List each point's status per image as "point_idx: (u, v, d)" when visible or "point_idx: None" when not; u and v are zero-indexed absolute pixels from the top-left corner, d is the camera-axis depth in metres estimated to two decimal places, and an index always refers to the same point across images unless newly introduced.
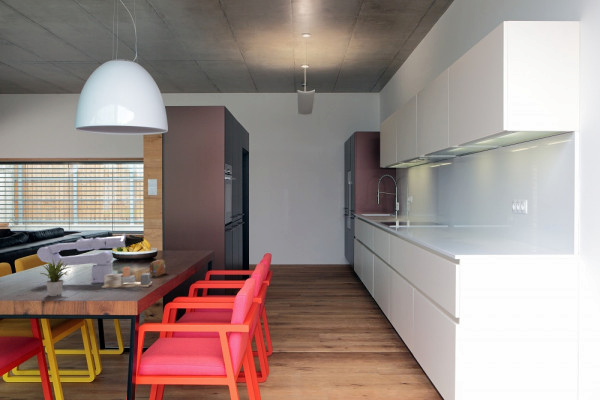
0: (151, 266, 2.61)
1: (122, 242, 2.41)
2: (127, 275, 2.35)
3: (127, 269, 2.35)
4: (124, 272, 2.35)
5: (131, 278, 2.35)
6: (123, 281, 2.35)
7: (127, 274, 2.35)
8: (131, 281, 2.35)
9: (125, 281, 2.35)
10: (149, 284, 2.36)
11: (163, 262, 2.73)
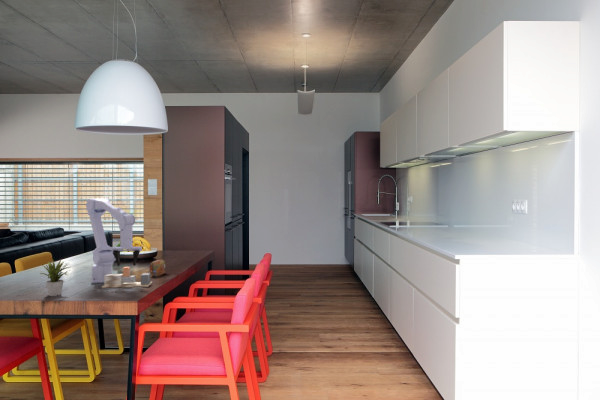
0: (151, 266, 2.61)
1: None
2: (127, 275, 2.35)
3: (127, 269, 2.35)
4: (124, 272, 2.35)
5: (131, 278, 2.35)
6: (123, 281, 2.35)
7: (127, 274, 2.35)
8: (131, 281, 2.35)
9: (125, 281, 2.35)
10: (149, 284, 2.36)
11: (163, 262, 2.73)
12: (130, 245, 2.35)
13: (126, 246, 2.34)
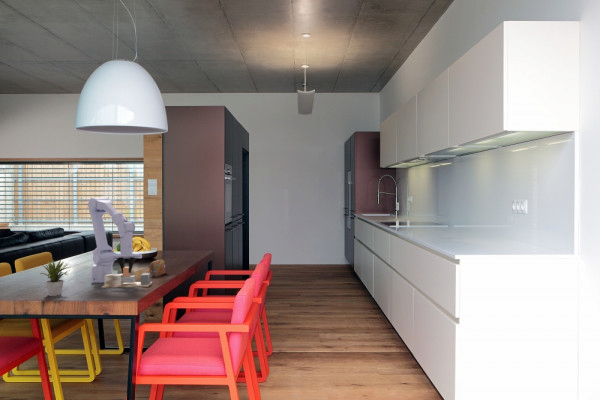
0: (151, 266, 2.61)
1: None
2: (127, 275, 2.35)
3: (127, 269, 2.35)
4: (124, 272, 2.35)
5: (131, 278, 2.35)
6: (123, 281, 2.35)
7: (127, 274, 2.35)
8: (131, 281, 2.35)
9: (125, 281, 2.35)
10: (149, 284, 2.36)
11: (163, 262, 2.73)
12: (130, 252, 2.35)
13: (126, 253, 2.34)
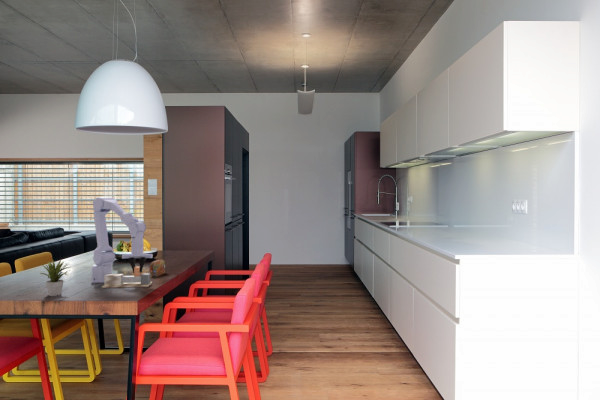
0: (151, 266, 2.61)
1: None
2: (138, 275, 2.36)
3: (138, 269, 2.36)
4: (135, 272, 2.36)
5: None
6: (134, 281, 2.36)
7: (138, 274, 2.36)
8: None
9: (136, 281, 2.36)
10: (149, 284, 2.36)
11: (163, 262, 2.73)
12: (141, 252, 2.36)
13: (137, 253, 2.35)
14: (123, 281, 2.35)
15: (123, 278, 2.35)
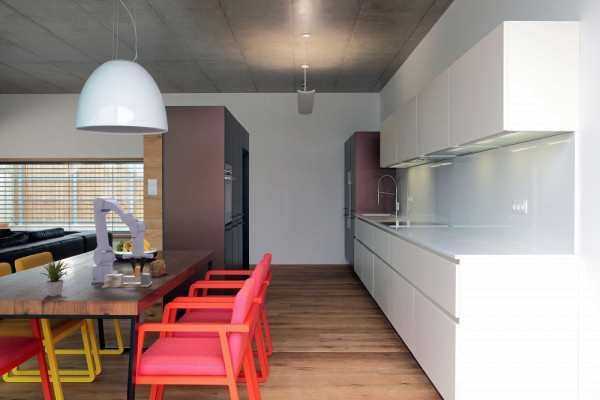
0: (151, 266, 2.61)
1: None
2: (139, 275, 2.36)
3: (139, 269, 2.36)
4: (136, 272, 2.36)
5: None
6: (135, 281, 2.36)
7: (139, 274, 2.36)
8: None
9: (137, 281, 2.36)
10: (149, 284, 2.36)
11: (163, 262, 2.73)
12: (142, 252, 2.36)
13: (138, 253, 2.35)
14: (124, 281, 2.35)
15: (124, 278, 2.35)
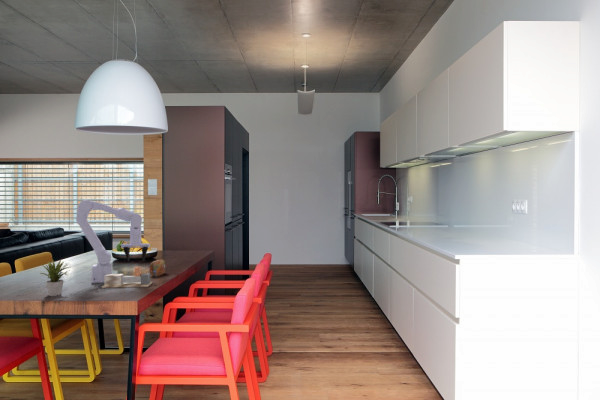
0: (151, 266, 2.61)
1: None
2: (139, 275, 2.36)
3: (139, 269, 2.36)
4: (136, 272, 2.36)
5: None
6: (135, 281, 2.36)
7: (139, 274, 2.36)
8: None
9: (137, 281, 2.36)
10: (149, 284, 2.36)
11: (163, 262, 2.73)
12: (139, 242, 2.51)
13: (135, 243, 2.50)
14: (124, 281, 2.35)
15: (124, 278, 2.35)
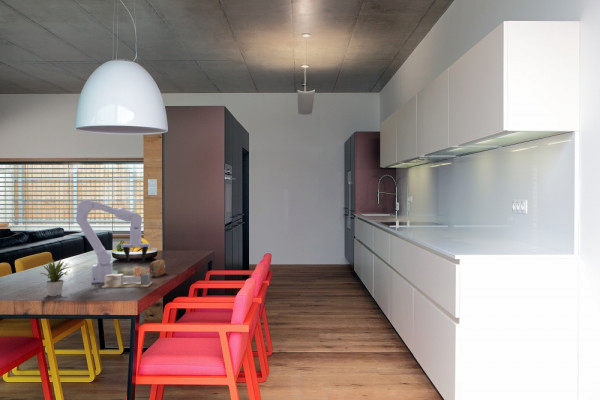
0: (151, 266, 2.61)
1: None
2: (139, 275, 2.36)
3: (139, 269, 2.36)
4: (136, 272, 2.36)
5: None
6: (135, 281, 2.36)
7: (139, 274, 2.36)
8: None
9: (137, 281, 2.36)
10: (149, 284, 2.36)
11: (163, 262, 2.73)
12: (139, 242, 2.51)
13: (135, 243, 2.50)
14: (124, 281, 2.35)
15: (124, 278, 2.35)
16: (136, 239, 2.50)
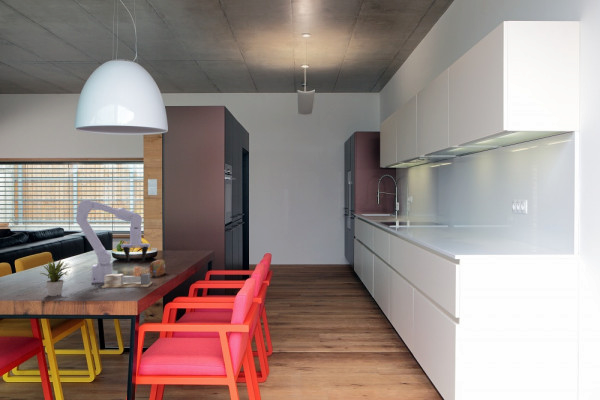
0: (151, 266, 2.61)
1: None
2: (139, 275, 2.36)
3: (139, 269, 2.36)
4: (136, 272, 2.36)
5: None
6: (135, 281, 2.36)
7: (139, 274, 2.36)
8: None
9: (137, 281, 2.36)
10: (149, 284, 2.36)
11: (163, 262, 2.73)
12: (139, 242, 2.51)
13: (135, 243, 2.50)
14: (124, 281, 2.35)
15: (124, 278, 2.35)
16: (136, 239, 2.50)
